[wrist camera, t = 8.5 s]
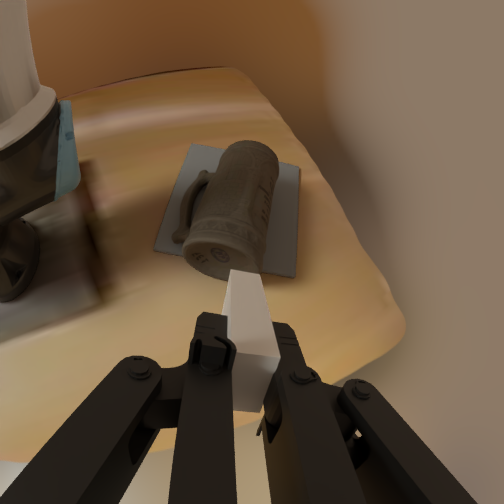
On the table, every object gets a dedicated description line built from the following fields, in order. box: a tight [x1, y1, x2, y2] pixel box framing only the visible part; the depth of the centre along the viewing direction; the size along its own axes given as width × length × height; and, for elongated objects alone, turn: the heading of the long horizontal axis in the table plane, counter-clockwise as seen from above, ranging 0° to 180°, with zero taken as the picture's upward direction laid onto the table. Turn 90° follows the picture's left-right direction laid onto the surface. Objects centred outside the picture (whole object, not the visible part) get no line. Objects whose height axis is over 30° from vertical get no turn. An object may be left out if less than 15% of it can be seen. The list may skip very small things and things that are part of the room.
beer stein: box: [171, 140, 279, 281], centre depth 41 cm, size 15×11×20 cm
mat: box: [154, 143, 299, 278], centre depth 47 cm, size 24×22×1 cm
